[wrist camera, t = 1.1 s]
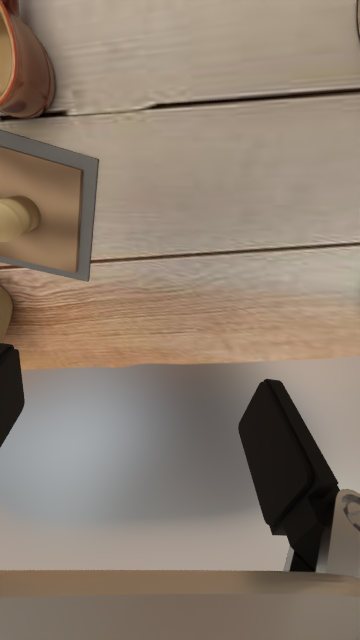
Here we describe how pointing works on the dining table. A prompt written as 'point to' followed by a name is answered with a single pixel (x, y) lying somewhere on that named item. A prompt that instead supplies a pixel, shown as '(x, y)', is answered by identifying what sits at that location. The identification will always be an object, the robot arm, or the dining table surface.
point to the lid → (40, 210)
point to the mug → (22, 67)
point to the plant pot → (4, 312)
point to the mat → (87, 197)
